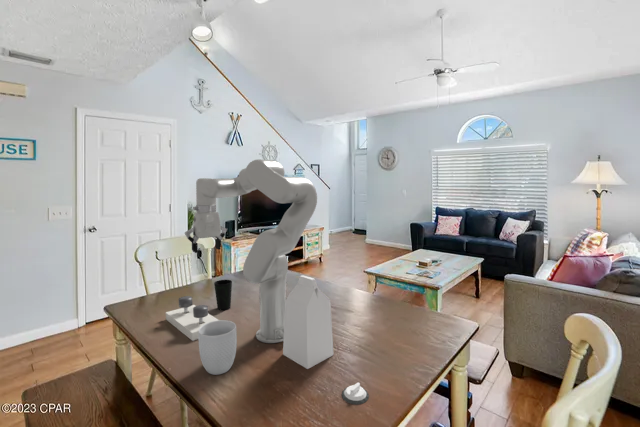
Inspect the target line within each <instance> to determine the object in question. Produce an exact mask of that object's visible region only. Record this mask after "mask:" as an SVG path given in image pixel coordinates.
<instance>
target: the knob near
mask: <svg viewBox="0 0 640 427" xmlns="http://www.w3.org/2000/svg"><path fill="white" fill-rule="evenodd" d="M208 307H209V306H208V305H206V304H199V305H195V307H194V308H193V316H194V317H195V318H199V323H200V324H201V323H203V317H206V316H207V315H208V314H209V308H208Z"/></svg>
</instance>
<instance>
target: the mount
mask: <svg viewBox="0 0 640 427" xmlns="http://www.w3.org/2000/svg"><path fill="white" fill-rule="evenodd" d="M195 306H196V305H195V304H193V305H192V306H190V307H188V313H184V308H180V307H179V308H177V309H173V310H169V311H166V312H165V320H166V321H167V322H169V323H170V324H171V325H172V326H174V327H175V328H176V329H177V330H178V331H180V332H181V333H182V334H183V335H185V336H186V338H189V340H191V341H192V342H194V341H196V340H197V341H198V340H199V339H198V338H199V336H198V331H199V328H200V327H201V326H203V325H204V324H206V323H209V322H212V321H218V320H219V319H218V318H216V317H215V316H213V315H212V314H210V313H208V315H207V316H206V317H203V323H201V324H200V323H199V318H195V317H194V316H193V308H194V307H195Z"/></svg>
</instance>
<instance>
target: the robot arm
mask: <svg viewBox="0 0 640 427" xmlns="http://www.w3.org/2000/svg"><path fill="white" fill-rule="evenodd" d="M195 184H196V185H195V187H196V188H195V190H196V191H195V192H196V193H195V194H196V199H195V200H196V204H195V206H192V210H193V211H196V212H194V216H193V222H192V227H191V228H190V229H188V230H187V231H185V232H184V235H185V237H186V239H187V240H188V241H189V242H191V250H192V252H193V253H194V254H197V253H198V250H199V249H198V248H199V247H198V243H197V242H198V240H199V239H206V238H207V239H208V238H215V244H214V245H215V249H216V250H218V251H219V250H221V247H222V240H223V238H224V237H225V236H226V232H227V231H228V228H227V227H226V228H225V227H224V226H221V220H220V215H219V214H220V213H219V212H218V211H217V199H223V198H224V199H226V198H235V197H240V196H243V195H247V194H250V193H251V192H252V191H256V190H258V191H259V192H261V193H262V194H263V195H265V197H267V198H269V199H270V200H272V201H273V202H275V203H278V204H291V205H290V207H289V208H288V209H286V211H285V212H284V214H283V216H282V217H281V220H280V222H279V223H278V225H277V226H275V227H274V228H270V229H266V230H264V231H262V232H261V233H260V234H258V236H256V238H255V240H254V241H253V244H252V246H251V248H250V250H249V252H248V253H247V256H246V258H245V261H244V263H243V266H242V269H243V270H242V271H243V273H242V274H243V277H244V279H245V280H246V281H247V282H248V283H250V284H253V285H258V284H259V296H258V297H259V329H258V330H257V331H256V333H255V338H256V339H257V340H258V341H259V342H261V343H266V344H276V343H281V342H283V341H284V315H285V300H286V298H287V296H286V295H287V294H286V292H287V290H286V289H287V286H286V285H287V276H288V275H287V274H288V269H289V263H288V258H287V256H286V255H288V254H290V253H291V252H292V251H293V250H294V249H295V247H296V246H297V244H298V242H299V241H300V238H301V236H302V235H303V233H304V231H305V229H306V227H307V225H308V223H309V221H310V220H311V218H312V216H313V215H314V212H315V211H316V207H317V204H318V193H317V190H316V188H315V185H314V184H313V182H312V181H311V180H309V179H307V178H305V177H302V176H285V169H284V166H283V165H282V164H281V163H280V162H278V161H276V160H271V159H254V160H252V161H250V162H249V163H248V164H247V165H246V167H245V168H242V169H241V170H240V171H239V173H238V176H237V177H233V178H205V177H204V178H197V180H196V183H195ZM191 234H192V235H193V236H191Z"/></svg>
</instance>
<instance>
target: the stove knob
mask: <svg viewBox="0 0 640 427" xmlns="http://www.w3.org/2000/svg"><path fill="white" fill-rule="evenodd" d="M341 398H342V399H343V401H345V403H348V404H351V405H354V406H355V405H362V404H365V403H366V402H367V401H368V400H369V398H370V395H369V393H368V391H367V390H366V389H365V388H364V387H362V386H361V383H360V382H359V381H358V382H356V383H355V384H353V385H349V386H347V387H346V388H344V389H343V390H342V391H341Z"/></svg>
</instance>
